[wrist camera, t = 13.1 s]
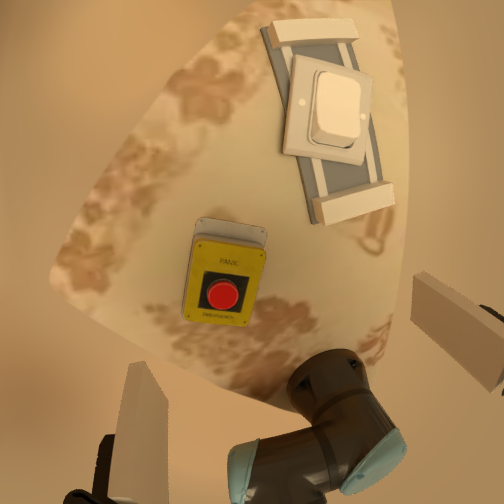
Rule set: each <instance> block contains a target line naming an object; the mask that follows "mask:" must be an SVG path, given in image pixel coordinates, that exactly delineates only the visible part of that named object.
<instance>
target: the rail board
mask: <svg viewBox="0 0 504 504" xmlns="http://www.w3.org/2000/svg"><path fill="white" fill-rule="evenodd" d="M260 30H261V33H262V36H263V39H264V43H265V46H266V49H267V52H268V55H269V58H270V62H271V65H272V68H273V72H274V75H275V78H276V82H277V85H278V89H279V92H280V96H281V99H282V103H283V106H284V110H285V114H286V118H287V110H288V101H289V92H290V83H291V74H292V65H293V57H294V55H296V54H298V55H302V56H307V57H311V58H315V59H319V60H323V61H326V62H330V63H334V64H337V65H340V66H344V67H347V68H350V69H353V70H357V71H360V70H359V67H358V63H357V60H356V57H355V54H354V51H353V48H352V45H351V42H353V41H355V40H357V39H359V36H358V33H357V30H356V27H355V25H354V22H353V19H337V18H316V19H292V20H279V21H272V23H271V24H270V26H269V27H262V28H261V29H260ZM312 141H314V140H312ZM314 142H315V143H317V142H316V141H314ZM317 144H322V143H317ZM323 145H327V144H323ZM328 146H333V145H328ZM334 147H338V146H334ZM339 148H343V147H339ZM345 148H349V146H347V147H344V149H345ZM296 157H297V161H298V166H299V170H300V174H301V179H302V183H303V187H304V192H305V197H306V201H307V206H308V211H309V216H310V221H311V224H313V225H314V224H318V223H321V224H323V225H324V226H328V225H331V224H334V223H337V222H340V221H343V220H346V219H349V218H353V217H356V216H359V215H362V214H365V213H368V212H371V211H375V210H378V209H381V208H384V207H387V206H390V205H394V204H395V199H394V190H393V183H392V182H388V181H383V177H382V170H381V164H380V158H379V152H378V146H377V141H376V136H375V131H374V126H373V122H372V117H371V113H370V118H369V127H368V134H367V142H366V149H365V156H364V161H363V163H362V165H361V166H357V165H352V164H346V163H341V162H335V161H329V160H323V159H316V158H310V157H303V156H296Z"/></svg>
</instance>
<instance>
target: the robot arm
mask: <svg viewBox="0 0 504 504" xmlns="http://www.w3.org/2000/svg"><path fill="white" fill-rule="evenodd" d="M410 320H411V321H412V322H413V323H414V324H415V325H417V326H418V327H419V328H420V329H421V330H422V331H423V332H425V333H426V334H427V335H428V336H429V337H430V338H431V339H432V340H434V341H435V342H436V343H437V344H438V345H439V346H440V347H442V348H443V349H444V350H445V351H446V352H447V353H448V354H449V355H450V356H451V357H452V358H454V359H455V360H456V361H457V362H458V363H459V364H460V365H461V366H462V367H463V368H465V370H467V371H468V372H469V373H470V374H471V375H472V376H473V377H474V378H475V379H476V380H477V381H478V382H479V383H480V384H481V385H482V386H483V387H484V388H486V390H487V391H488V392H489V393H491V394H492V393H493V392H494V391H495V390H496V389H497V388H498V387H499V386H500V385H501V384H502V382H503V380H504V317H503V316H502V315H500V314H498V312H496V311H494V310H493V309H492V308H490V307H486V306H484V305H479V306H478V305H477V304H475V303H474V302H472V301H471V300H469V299H468V298H466V297H465V296H463V295H461V294H460V293H459V292H457V291H455V290H454V289H452V288H451V287H449V286H447V285H446V284H444V283H443V282H441V281H439V280H438V279H436V278H435V277H433V276H431V275H430V274H428V273H427V272H425V271H423V272H421V273H418V274H416V275H414V276H413V292H412V308H411V319H410ZM287 393H288V396H289V399H290V401H291V403H292V405H293V407H294V408H295V409H296V410H297V411H298V412H299V413H300V414H301V415H302V416H303V417H305V418H306V419H307V420H308V421H309V422H310V423H311V425H312V427H308V428H304V429H301V430H297V431H294V432H291V433H287V434H283V435H279V436H275V437H270V438H265V439H261V440H260V438H259V439H256V440H255V441H251V442H247V443H243V444H239V445H236V446H234V447H233V448H232V449H231V450H230V452H229V454H228V462H227V465H228V466H227V473H228V489H229V496H230V500H231V504H327V500H326V497H325V493H327V492H330V491H333V490H336V489H339V490H340V492H341V493H343V494H344V495H352V494H356V493H358V492H361V491H363V490H364V489H366V488H368V487H370V486H371V485H373V484H375V483H376V482H378V481H380V480H381V479H382V478H384V477H385V476H386V475H388V474H389V473H390V472H391V471H392V470H393V469H394V468H395V467H396V466H397V465H398V464H399V463H400V462H401V461H402V459H403V458H404V456H405V454H406V451H407V445H406V443H405V441H404V439H403V437H402V435H401V433H400V432H399V429H398V428H397V427H396V426H395V425H394V423H393V422H392V420H391V419H390V417H389V416H388V415H387V413H386V412H385V410H384V409H383V407H382V406H381V405H380V403H379V402H378V400H377V399H376V398H375V396H374V395H373V393H372V392H371V390H370V387H369V383H368V378H367V374H366V370H365V366H364V364H363V362H362V361H361V360H360V358H359V357H358V356H357V355H356V354H355V353H354V352H352V351H349V350H345V349H336V350H330V351H327V352H324V353H321V354H319V355H317V356H315V357H313V358H311V359H309V360H308V361H306V362H305V363H304V364H303V365H301V366H300V367H299V368H298V369H297V370H296V371H295V373H294V374H293V375H292V377H291V378H290V380H289V383H288V386H287ZM503 395H504V389H503V391H502V396H503ZM96 465H97V466H96V467H95V474H94V481H93V488H92V494H90V493H89V492H87V491H85V490H82V489H76V490H73V491H71V492H69V493H68V494H67V495H66V497H65V499H64V501H63V504H169V492H168V399H167V398H166V396H165V395H164V393H163V391H162V390H161V388H160V387H159V385H158V383H157V382H156V380H155V378H154V377H153V375H152V373H151V371H150V370H149V368H148V366H147V365H146V363H145V361H141V362H137V363H132V364H129V368H128V372H127V377H126V381H125V386H124V390H123V395H122V400H121V405H120V411H119V416H118V422H117V428H116V434H109V435H105V436H104V438H103V440H102V441H101V443H100V445H99V450H98V458H97V461H96Z"/></svg>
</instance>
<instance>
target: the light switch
mask: <svg viewBox="0 0 504 504" xmlns="http://www.w3.org/2000/svg"><path fill="white" fill-rule="evenodd" d="M372 89H373V78H372V76H371V75H368V74H365V73H363V72H360V71H357V70H353V69H350V68H347V67H344V66H340V65H337V64H334V63H330V62H326V61H323V60H319V59H315V58H311V57H307V56H302V55H298V54H296V55H294V57H293V65H292V74H291V83H290V92H289V101H288V110H287V118H286V126H285V135H284V143H283V153H284V154H288V155H295V156H303V157H310V158H316V159H323V160H329V161H335V162H341V163H346V164H352V165H357V166H361V165H362V163H363V161H364V156H365V149H366V142H367V134H368V127H369V118H370V109H371V100H372ZM312 140H314V141H316V142H317V143H322V144H317V143H315V142H314V141H312ZM323 144H327V145H323ZM328 145H333V146H328ZM334 146H338V147H334ZM347 146H349V148H345V149H344V147H347ZM339 147H343V148H339Z"/></svg>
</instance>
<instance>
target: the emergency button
mask: <svg viewBox="0 0 504 504" xmlns="http://www.w3.org/2000/svg"><path fill="white" fill-rule="evenodd" d="M266 238H267V232H266V230H265V229H264V228H262V227H258V226H253V225H247V224H242V223H236V222H231V221H225V220H219V219H214V218H208V217H201V218H199V219H198V220H197V222H196V224H195V230H194V235H193V241H192V247H191V252H190V258H189V264H188V270H187V277H186V283H185V290H184V296H183V303H182V310H181V315H182V317H183V319H185V320H188V321H192V322H201V323H209V324H218V325H227V326H237V327H244V326H246V325H248V323H249V320H250V316H251V313H252V309H253V305H254V302H255V298H256V294H257V290H258V287H259V283H260V279H261V275H262V271H263V268H264V264H265V260H266V253H265V251H264V246H265V242H266Z"/></svg>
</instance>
